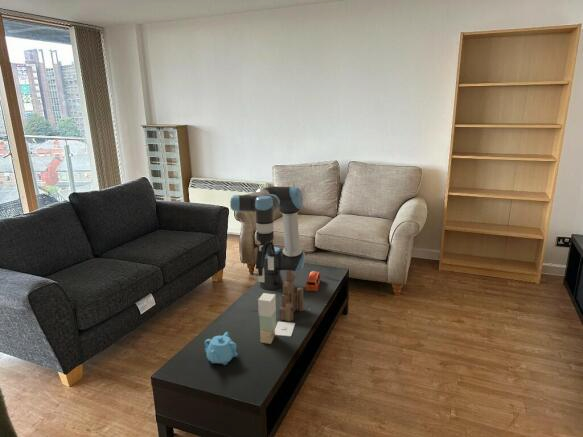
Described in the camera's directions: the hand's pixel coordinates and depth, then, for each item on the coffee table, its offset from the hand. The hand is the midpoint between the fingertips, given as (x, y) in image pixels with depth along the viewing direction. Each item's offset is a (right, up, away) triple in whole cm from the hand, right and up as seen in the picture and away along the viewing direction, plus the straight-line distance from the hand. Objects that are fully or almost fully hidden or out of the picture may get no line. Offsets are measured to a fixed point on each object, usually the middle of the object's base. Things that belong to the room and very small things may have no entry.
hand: (266, 275), depth 184 cm
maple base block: (0, -32, +9) cm, 33 cm away
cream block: (0, -18, +5) cm, 19 cm away
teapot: (-20, -36, -6) cm, 42 cm away
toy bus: (+25, -16, +64) cm, 70 cm away
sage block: (0, -26, +8) cm, 27 cm away
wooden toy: (+12, -25, +31) cm, 42 cm away
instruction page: (+8, -29, +17) cm, 35 cm away
